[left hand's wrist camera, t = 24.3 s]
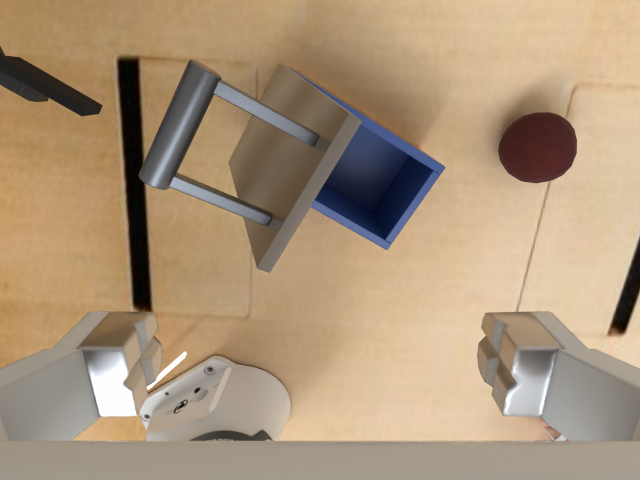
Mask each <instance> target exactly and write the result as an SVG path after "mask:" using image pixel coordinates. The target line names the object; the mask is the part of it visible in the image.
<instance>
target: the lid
mask: <svg viewBox="0 0 640 480" xmlns="http://www.w3.org/2000/svg"><path fill="white" fill-rule="evenodd" d="M214 94H215V95H217V96H219V97H220V98H222V99H224V100H226V101H228V102H230V103H232V104H234V105H235V106H237V107H239V108H241V109H243V110H245V111H247V112H248V113H250V114H252V117H251V119H250V121H249V123H248V125H247V127H246V129H245V131H244V133H243V135H242V137H241V139H240V141H239V143H238V145H237V146H236V148H235V150H234V152H233V154H232V156H231V158H230V160H229V166H230V170H231V173H232V177H233V181H234V184H235V188H236V192H237V196H238V198H236V197H233V196H231V195H229V194H226V193H224V192H221V191H219V190H217V189H214V188H212V187H210V186H207V185H205V184H203V183H200V182H198V181H196V180H193V179H191V178H188V177H186V176H184V175H181V174H179V173H177V171H178V169H179V167H180V165H181V163H182V161H183V159H184V156H185V154H186V152H187V150H188V148H189V146H190V144H191V142H192V140H193V138H194V135H195V133H196V131H197V129H198V127H199V125H200V123H201V121H202V119H203V116H204V114H205V112H206V110H207V108H208V106H209V104H210V102H211V100H212V98H213V95H214ZM361 123H362V120H360V119H359V118H358V117H356V116H355V115H353V114H352V113H351V112H349V111H348V110H346V109H345V108H344V107H342V106H341V105H339V104H338V103H337V102H335V101H334V100H333V99H331V98H330V97H328V96H327V95H326V94H324V93H323V92H321V91H320V90H319V89H317V88H316V87H315V86H313V85H312V84H310V83H309V82H308V81H306V80H305V79H303V78H302V77H301V76H299V75H298V74H296V73H295V72H294V71H292V70H291V69H290V68H288V67H287V66H285V65H283V64H282V63H279V65H278V67H277V69H276V71H275V73H274V75H273V77H272V79H271V80H270V82H269V84H268V86H267V88H266V90H265V92H264V94H263V96H262V98H261V100H260V101H259V100H257V99H255V98H254V97H252V96H250V95H248V94H246V93H245V92H243V91H241V90H239V89H237V88H236V87H234V86H232V85H230V84H229V83H227V82H225V81H223V80H221V76H220V75H219V74H218V73H216V72H215V71H213V70H212V69H210V68H208V67H207V66H205V65H203V64H201V63H199V62H197V61H195V60H191V59H190V60H189V62H188V64H187V66H186V69H185V71H184V73H183V75H182V78H181V80H180V82H179V84H178V87H177V89H176V91H175V93H174V96H173V98H172V100H171V102H170V105H169V107H168V109H167V112H166V114H165V116H164V118H163V121H162V123H161V125H160V127H159V130H158V132H157V134H156V136H155V139H154V141H153V143H152V145H151V148H150V150H149V152H148V155H147V157H146V159H145V161H144V164H143V166H142V168H141V170H140V173H139V177H140V179H141V180H142V181H143V182H145V183H146V184H148V185H150V186H152V187H155V188H158V189H163V190H166V189H169V188H170V187H171V188H173V189H176V190H178V191H181V192H183V193H186V194H188V195H191V196H193V197H196V198H198V199H200V200H203V201H205V202H208V203H210V204H213V205H215V206H218V207H220V208H223V209H225V210H228V211H230V212H233V213H235V214H238V215H240V216H243V218H244V222H245V225H246V229H247V233H248V236H249V240H250V244H251V248H252V251H253V255H254V259H255V262H256V266H257V268H258V269H261V270H264V271H267V272H271V270H272V268H273V267H274V265H275V264H276V262H277V260H278V259H279V257H280V255H281V254H282V252H283V250H284V249H285V247H286V246H287V244H288V242H289V241H290V239H291V237H292V236H293V234H294V232H295V231H296V229H297V227H298V226H299V224H300V223H301V221H302V219H303V218H304V216H305V214H306V213H307V211H308V209H309V208H310V206H311V205H312V203H313V201H314V200H315V198H316V196H317V195H318V193H319V191H320V190H321V188H322V187H323V185H324V183H325V182H326V180H327V178H328V177H329V175H330V173H331V172H332V170H333V168H334V167H335V165H336V164H337V162H338V160H339V159H340V157H341V155H342V154H343V152H344V150H345V149H346V147H347V146H348V144H349V142H350V141H351V139H352V137H353V136H354V134H355V132H356V131H357V129H358V127H359V126H360V124H361Z"/></svg>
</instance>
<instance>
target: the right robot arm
mask: <svg viewBox="0 0 640 480" xmlns="http://www.w3.org/2000/svg"><path fill="white" fill-rule="evenodd" d="M0 85H2V86H3V87H5V88H7V89H9V90H11V91H12V92H14V93H16V94H18V95H20V96H21V97H23V98H25V99H27V100H29V101H34V102H42V101H48V98H50V99H52V100H54V101H56V102H57V103H59V104H61V105H63V106H64V107H66V108H68V109H70V110H72V111H73V112H75V113H77V114H79V115H80V116H87V115H94V114H99V113H100V110H101V108H102V106H103V105H101V104H99V103H98V102H96V101H94V100H92V99H91V98H89V97H87V96H86V95H84V94H82V93H80V92H79V91H77V90H75V89H73V88H72V87H70V86H68V85H66V84H65V83H63V82H61V81H60V80H58V79H56V78H54V77H53V76H51V75H49V74H47V73H46V72H44V71H42V70H41V69H39V68H37V67H35V66H34V65H32V64H30V63H28V62H27V61H25V60H23V59H21V58H20V57H12V56H5V54H4V53H3V51H2V49H1V47H0Z"/></svg>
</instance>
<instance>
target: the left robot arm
mask: <svg viewBox="0 0 640 480" xmlns="http://www.w3.org/2000/svg"><path fill="white" fill-rule="evenodd" d="M158 328H159V326H158V321H157V317H156V315H155V314H154V313H153V312H111V311H94V312H88V313H87V314H86V315H85V316H84V317H83V318H82V319H81V320H80V321H79V322H78V323H77V324H76V325H75V326H74V327H73V328H72V329H71V330H70V331H69V332H68V333H67V334H66V335H65V336H64V337H63V338H62V339H61V340H60V341H59V342H58V343H57V344H56V345H55V346H54V347H53V348H52V349H44V350H42V351H39V352H37V353H35V354H33V355H30V356H28V357H26V358H23V359H21V360H19V361H17V362H14V363H12V364H10V365H8V366H5V367H3V368H1V369H0V480H640V369H639V368H637V367H635V366H632V365H630V364H628V363H626V362H623V361H621V360H619V359H617V358H614V357H612V356H610V355H607V354H605V353H603V352H601V351H598V350H596V349H588V348H587V347H586V346H585V345H584V344H583V343H582V342H581V341H580V340H579V339H578V338H577V337H576V336H575V335H574V334H573V333H572V332H571V331H570V330H569V329H568V328H567V327H566V326H565V325H564V324H563V323H562V322H561V321H560V320H559V319H558V318H557V317H556V316H555V315H554V314H553V313H551V312H548V311H535V312H497V313H485V315H484V317H483V321H482V326H481V328H482V330H483V331H484V333H485V335H486V336H485V337H484V338H483V339H482V340H481V341H480V342H479V345H478V352H477V358H478V367H479V370H480V374H481V376H482V378H483V380H484V382H486V383H487V384H489V385H490V386H492V387H493V390H492V396H493V398H494V400H495V402H496V404H497V405H498V407H499V409H500V411H501V413H502V414H503V416H526V417H541V419H542V420H543V421H545V422H546V423H547V424H549V425H550V426H551V427H552V428H554V429H555V430H556V431H558V432H559V433H560V434H561V435H563V436H564V437H565V438H567V439H568V440H569V441H279V439H280V436H281V433H282V431H283V428H284V426H285V424H286V422H287V420H288V418H289V415H290V411H291V401H290V397H289V394H288V392H287V390H286V389H285V387H284V386H283V384H282V383H281V382H280V381H279V380H278V379H277V378H275V377H274V376H273V375H271V374H269V373H268V372H266V371H264V370H261V369H258V368H255V367H251V366H245V365H240V364H236V363H234V362H232V361H230V360H228V359H226V358H224V357H222V356H217V355H216V356H212V357H211V358H209V359H207V360H205V361H204V362H202V363H200V364H199V365H197V366H195V367H194V368H192V369H190V370H188V371H187V372H185V373H183V374H182V375H180V376H178V377H177V378H175V379H173V380H172V381H170V382H168V383H166V384H165V385H163V386H161V387H160V388H158V389H156V390H155V391H153V392H151V393H149V394H148V390H149V389H150V388H151V387H152V386H153V385H154V384H155V383H156V382H158V381H159V380H160V379H161V378H162V377H163V376H164V375H165V374H167V373H168V372H169V371H170V370H171V369H172V368H173V367H175V366H176V365H177V364H178V363H179V362H180V361H181V360H182V359H184V358H185V355H186V352H184V353H183V354H182V355H181V356H180V357H178V358H177V359H176V360H175V361H174V362H173V363H172V364H171V365H170V366H168V367H167V368H166V369H165V370H164V371H163V372H162V373H161V374H160V370H161V366H162V362H163V351H162V344H161V342H160V341H159V340H158V339H157V338H156V337H155V336H154V335H155V333H156V332H157V330H158ZM209 367H211V368H213V369H210V368H209ZM147 389H148V390H147ZM139 411H140V417H141V420H142V422H143V425H144V427H145V429H146V441H71V440H72V439H74V438H75V437H76V436H77V435H79V434H80V433H81V432H83V431H84V430H85V429H86V428H88V427H89V426H90V425H92V424H93V423H94V422H95V421H97V420H98V419H99V417H114V416H137V414H138V413H139ZM147 414H148V415H147Z"/></svg>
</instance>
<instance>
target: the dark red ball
mask: <svg viewBox="0 0 640 480" xmlns="http://www.w3.org/2000/svg"><path fill="white" fill-rule="evenodd" d="M498 152H499V157H500V161H501V163H502V164H503V166H504V167H505V169H506V170H507V172H508V173H509V174H510V175H512V176H514V177H515V178H517V179H518V180H520V181H523V182H531V183H541V182H546V181H551V180H554V179H556V178H558V177H560V176H562V175H563V174H564V173H565V172H566V171H567V170H568V169H569V168H570V167H571V166H572V163H573V161H574V158H575V156H576V153H577V139H576V135H575V131H574V129H573V127H572V126H571V124H570V123H569V122H568V121H567V120H565V119H564V118H563V117H561V116H559V115H557V114H554V113H550V112H547V113H532V114H529V115H526V116H523V117H521V118H520V119H518V120H516V121H515V122H514V123H513V124H512V125H511V126H510V127H509V128H508V129H507V130H506V132H505V133H504V135H503V137H502V139H501V141H500V145H499V151H498Z"/></svg>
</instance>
